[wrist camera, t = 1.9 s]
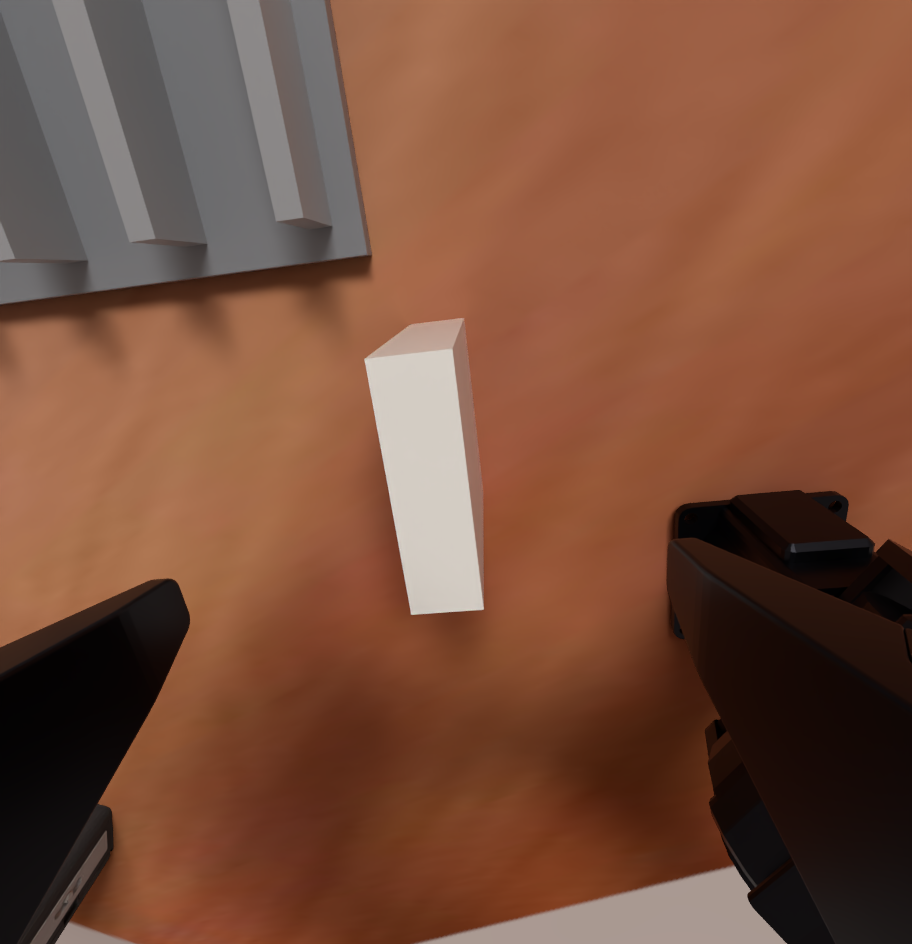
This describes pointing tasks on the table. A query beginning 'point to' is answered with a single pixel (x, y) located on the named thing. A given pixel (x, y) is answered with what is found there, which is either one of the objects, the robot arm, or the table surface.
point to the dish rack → (170, 143)
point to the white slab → (432, 463)
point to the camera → (73, 879)
